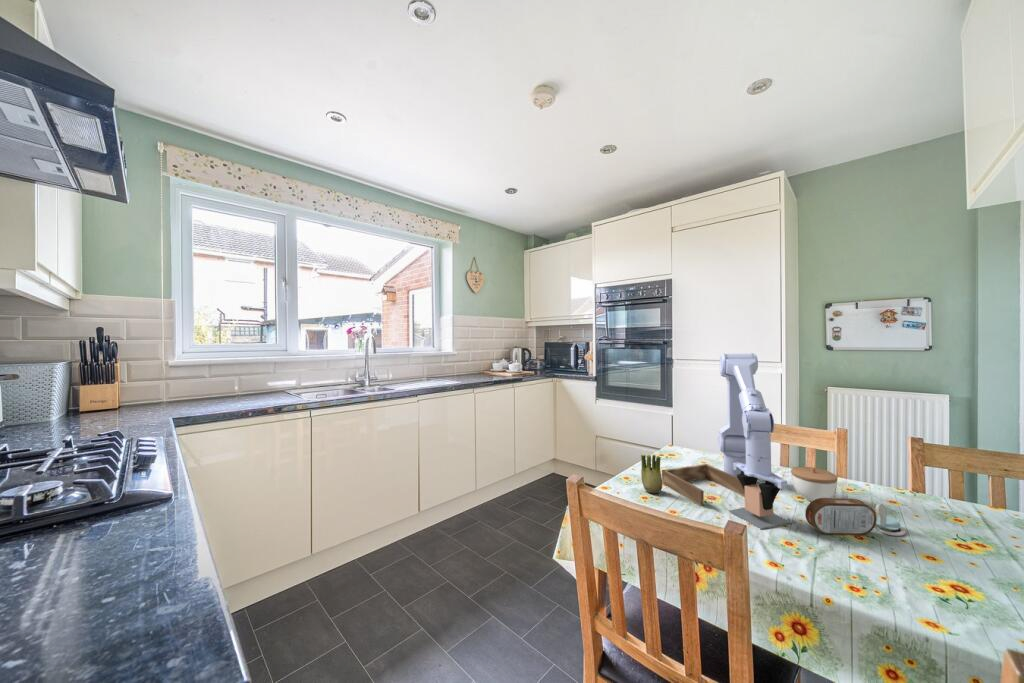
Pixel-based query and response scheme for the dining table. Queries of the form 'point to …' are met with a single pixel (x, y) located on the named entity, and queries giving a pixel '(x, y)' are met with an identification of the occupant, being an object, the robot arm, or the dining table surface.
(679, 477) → the open frame
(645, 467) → the fennel bulb
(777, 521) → the mat
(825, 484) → the lidded jar
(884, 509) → the pacifier
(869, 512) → the tin
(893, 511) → the dining table surface
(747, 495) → the block
